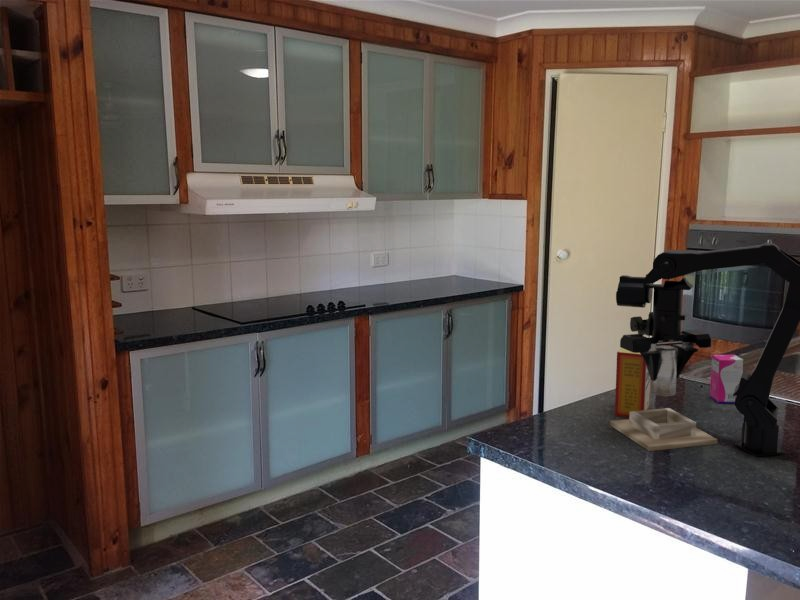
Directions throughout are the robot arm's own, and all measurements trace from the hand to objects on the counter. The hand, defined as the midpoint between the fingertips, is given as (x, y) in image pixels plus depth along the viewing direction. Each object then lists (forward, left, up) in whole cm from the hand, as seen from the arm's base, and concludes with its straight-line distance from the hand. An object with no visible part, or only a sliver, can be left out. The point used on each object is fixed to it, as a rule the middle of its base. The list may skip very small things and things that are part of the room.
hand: (664, 379), depth 144 cm
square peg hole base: (0, 0, -13) cm, 13 cm away
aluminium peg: (0, 0, -3) cm, 3 cm away
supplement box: (+17, -29, -13) cm, 36 cm away
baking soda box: (+15, -2, -13) cm, 20 cm away
